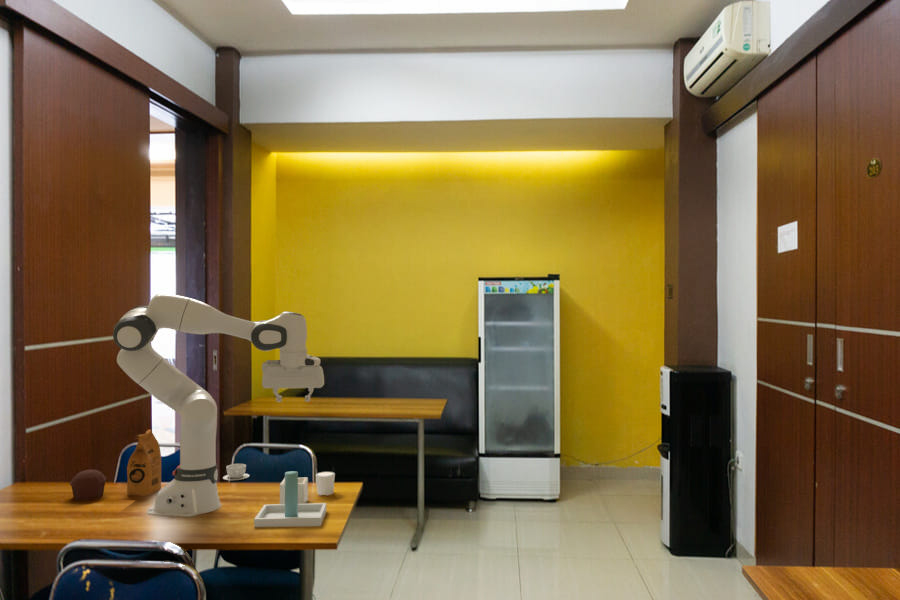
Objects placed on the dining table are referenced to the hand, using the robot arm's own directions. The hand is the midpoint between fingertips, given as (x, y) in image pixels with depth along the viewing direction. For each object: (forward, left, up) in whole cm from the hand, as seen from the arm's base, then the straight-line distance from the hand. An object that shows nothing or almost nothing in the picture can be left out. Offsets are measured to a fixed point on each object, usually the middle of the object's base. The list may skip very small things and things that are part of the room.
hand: (293, 401), depth 213 cm
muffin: (-73, +15, -36) cm, 83 cm away
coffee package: (-57, +21, -36) cm, 70 cm away
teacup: (-29, +39, -36) cm, 61 cm away
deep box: (0, +4, -36) cm, 36 cm away
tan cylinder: (+9, +16, -36) cm, 40 cm away
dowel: (+2, -12, -35) cm, 37 cm away
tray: (+2, -12, -36) cm, 38 cm away
